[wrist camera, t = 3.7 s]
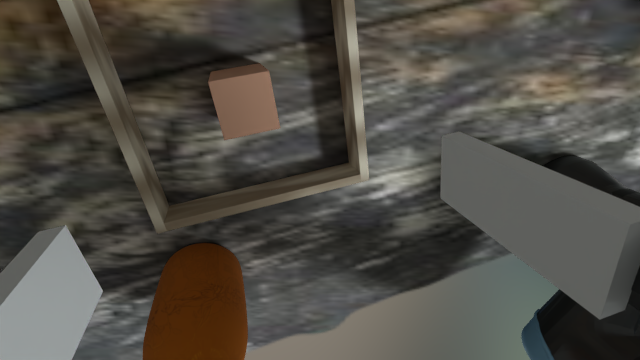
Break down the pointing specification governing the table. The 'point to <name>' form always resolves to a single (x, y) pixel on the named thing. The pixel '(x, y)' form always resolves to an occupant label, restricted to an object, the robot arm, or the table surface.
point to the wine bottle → (198, 307)
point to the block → (244, 100)
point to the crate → (240, 200)
